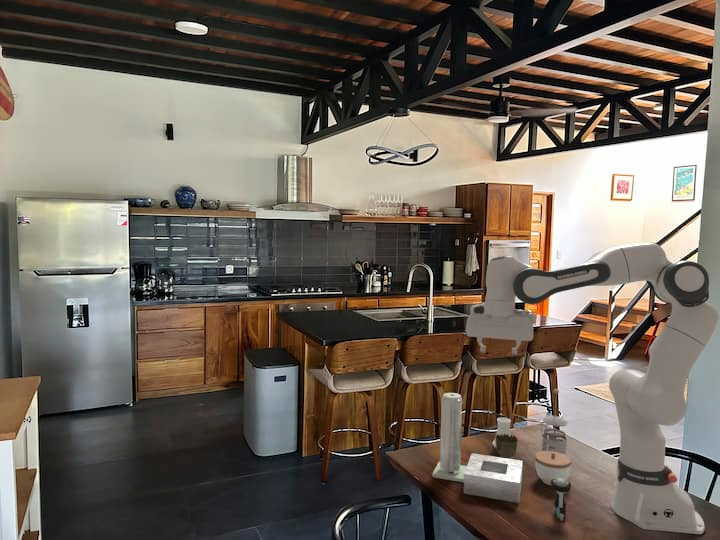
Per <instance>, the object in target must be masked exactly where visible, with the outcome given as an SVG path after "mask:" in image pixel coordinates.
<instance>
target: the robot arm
mask: <svg viewBox="0 0 720 540" xmlns="http://www.w3.org/2000/svg"><path fill="white" fill-rule="evenodd" d="M641 281H643V282H646V284H647V285H648V287H649V288H650V290H651V292H652V293H653V295H654V296H655V298H657V299H658V300H659V301H661V302H663V303H665V304H669V305H671V308H672V309H671V313H670V315H669V318H668V319H667V320H666V322H665V323H664V325H663V326H662V327H661V329H660V331H659V332H658V334H657V335H656V337H655V338H654V340H653V342H652V343H651V344H650V346H649V347H648V355H649V363H648V367H647V370H646V372H642V371H640V370H637V369H629V368H624V369H623V368H622V369H619V370H618V371H616V372H614V373H613V374H612V376H611V377H610V379H609V383H608V385H609V387H608V388H609V391H610V393H611V395H612V398H613V400H614V403H615V404H614V405H615V409H616V413H617V419H618V424H619V431H620V432H619V433H620V436H619V437H620V439H619V457H618V458H617V464H616V478H617V483H616V486H615V487H616V488H615V491H614V492H615V493H614V496H613V499H612V501H611V503H610V507H611V510H612V511H613V512H614V513H615V514H616V515H618V516H619V517H621V518H623V519H625V520H627V521H629V522H631V523H633V524H635V525H636V526H637V527H638V528H640V529H642V530H647V531H648V530H649V531H650V530H651V531H657V532H658V531H660V532H671V533H681V534H682V533H683V534H690V535H691V534H694V535H702V534H704V532H705V528H706V527H705V522H704V519H703V518H702V516H701V515H700V513H698V512H697V510H695V506H694V503H693V500H692V499H691V497H690V495H689V494H688V493H687V492H686V491H685V490H684V489H682V488H681V487H680V486H679V485H678V484H677V482H678V478H677V475H676V474H675V473H673V470H671V469H670V467H669V466H668V465H665V464H666V463H665V457H666V438H665V435H664V434H663V432H662V429H661V427H660V425H662V426H664V427H665V426H667V427H669V426H670V427H671V426H674V425H677V424H678V423H680V422H681V421H682V420H683V419H684V417H685V416H686V412H687V402H686V399H685V390H686V385H687V381H688V378H689V375H690V373H691V371H692V368H693V367H694V365H695V363H696V362H697V361H698V359H699V357H700V355H701V354H702V352H703V350H705V348H706V347H707V345H708V343H709V341H710V339H711V338H712V336H713V334H714V332H715V329H716V328H717V327H716V326H717V325H718V322H719V318H720V317H719V312H718V310H717V309H716V308H715V306H713V305H712V304H711V303H709V302H707V301H708V300H709V298H710V291H709V289H710V288H709V287H710V276H709V273H708V271H707V270H706V268H705V267H704V266H703V265H701V264H699V263H698V262H695V261H691V260H680V261H676V262H674V263H673V262H672V261H670V260H669V259H668V258H667V254H666V252H665V250H664V249H663V248H662V246H661V245H659V244H657V243H656V242H638V243H637V242H636V243H628V244H622V245H617V246H613V247H609V248H606V249H603V250H601V251H598V252H596V253H594V254H592V256H591V257H589V258H588V260H586V261H584V262H582V263H580V264H577V265H573V266H569V267H562V268H559V269H555V270H541V269H539V268H536V267H534V266H531V265H528V264H526V263H523V261H520V260H518V259H517V258H516V257H514V256H513V255H502V256H497V257H493V258H491V259H490V260H489V261H488V263H487V267H486V275H485V286H486V287H485V288H486V295H485V297H484V298H485V299H484V302H480V303H476V304H474V305H471V307H470V308H469V312H470V314H469V315H468V317H467V320H466V323H465V324H466V325H465V335H466V336H467V337H470V338H471V337H472V338H476V342H477V343H478V345H479V346H480V349H479V352H480V353H481V352H482V353H485V352H486V349H487V347H486V346H487V345H484V344H483V342H482V340H483V338H484V339H496V340H497V339H498V340H509V341H510V340H512V341H515V344H516V345H515V347H512V348H511V355H513V356H515V355H517V354H518V349H519V347H520V346H521V344H522V341H524V342H531V341H533V340H534V324H535V323H536V315H535V313H534V312H533V311H531V310H529V309H526V310H525V309H516V298H517V299H518V300H519V301H521V302H522V303H524V304H527V305H537V304H540V303H542V302H544V301H545V300H547V299H548V298H550V297H551V296H553V295H555V294H558V293H561V292H562V293H563V292H566V291H571V290H576V289H580V288H585V287H591V286H592V287H593V286H594V287H595V286H596V287H598V286H601V287H602V286H603V287H605V286H606V287H607V286H610V287H611V286H619V285H626V284H631V283H636V282H641Z"/></svg>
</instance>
